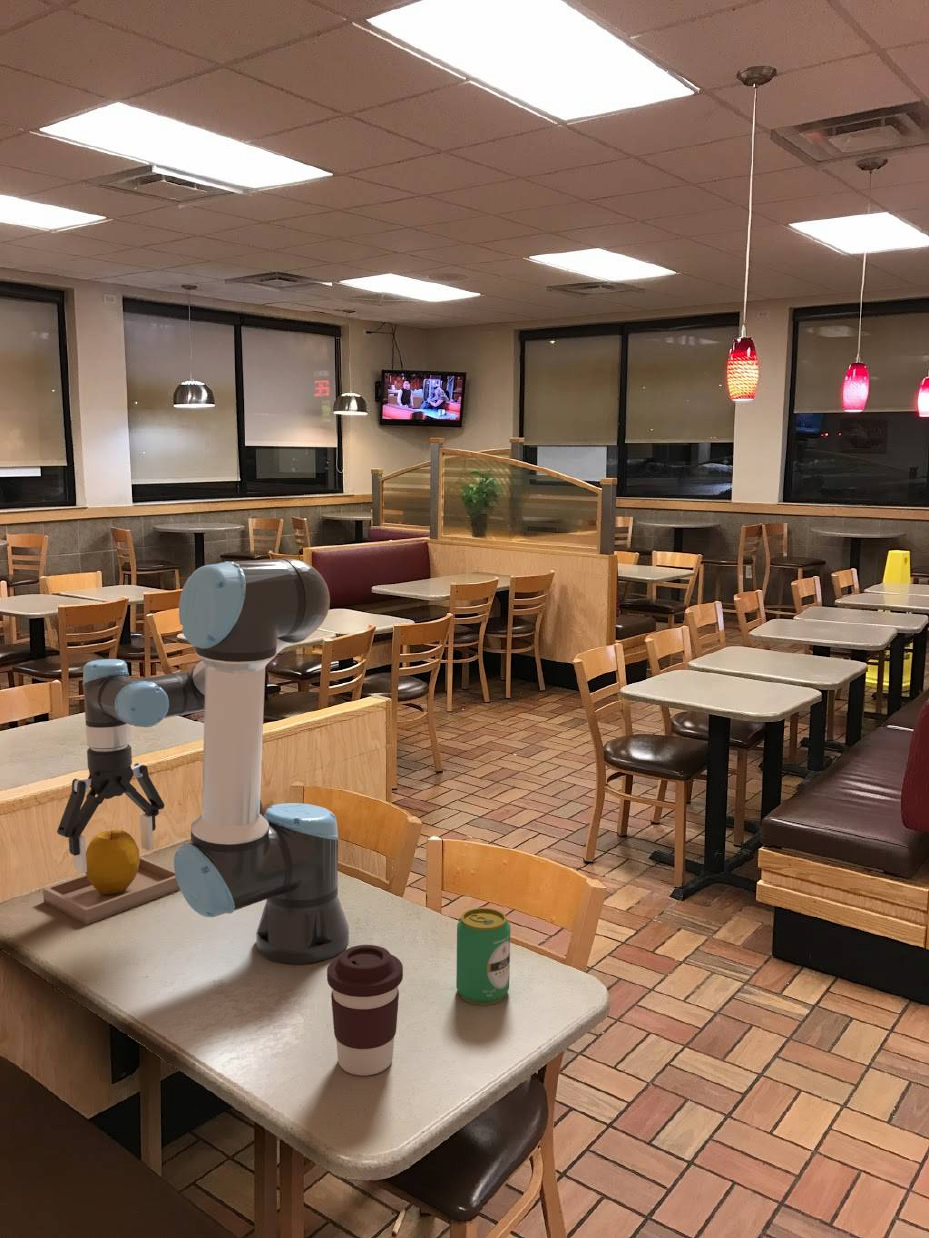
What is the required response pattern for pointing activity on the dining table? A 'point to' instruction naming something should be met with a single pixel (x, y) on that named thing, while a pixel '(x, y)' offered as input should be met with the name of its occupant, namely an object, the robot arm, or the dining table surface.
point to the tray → (92, 906)
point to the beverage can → (483, 956)
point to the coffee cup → (365, 1007)
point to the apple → (112, 861)
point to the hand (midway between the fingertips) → (115, 859)
